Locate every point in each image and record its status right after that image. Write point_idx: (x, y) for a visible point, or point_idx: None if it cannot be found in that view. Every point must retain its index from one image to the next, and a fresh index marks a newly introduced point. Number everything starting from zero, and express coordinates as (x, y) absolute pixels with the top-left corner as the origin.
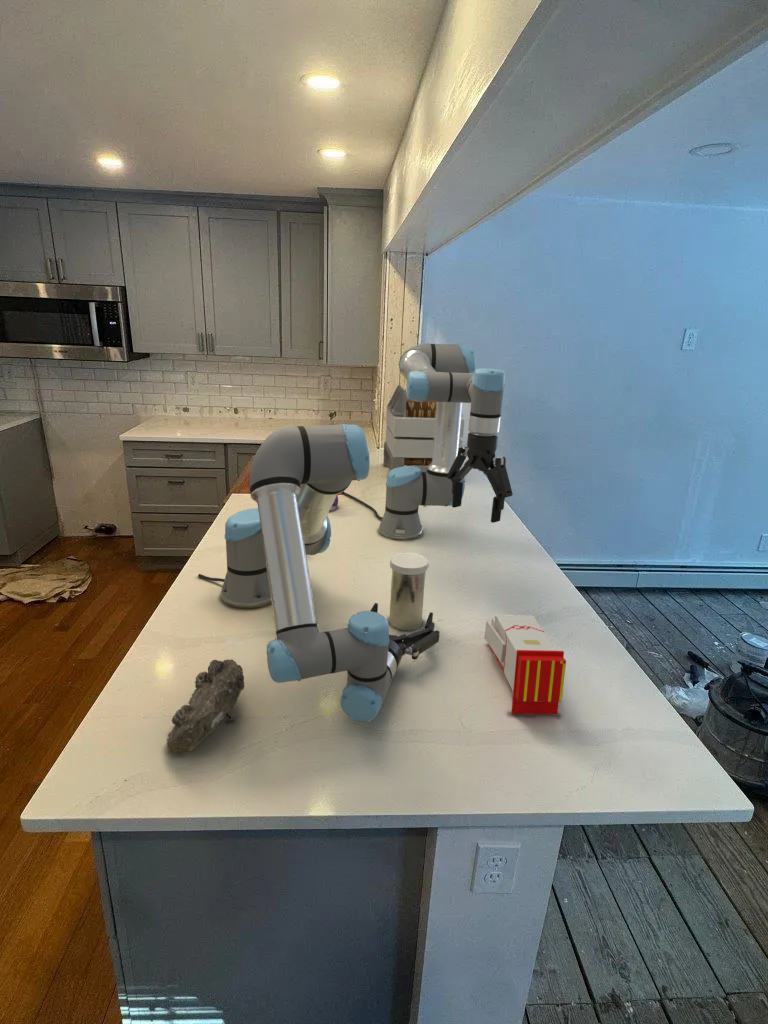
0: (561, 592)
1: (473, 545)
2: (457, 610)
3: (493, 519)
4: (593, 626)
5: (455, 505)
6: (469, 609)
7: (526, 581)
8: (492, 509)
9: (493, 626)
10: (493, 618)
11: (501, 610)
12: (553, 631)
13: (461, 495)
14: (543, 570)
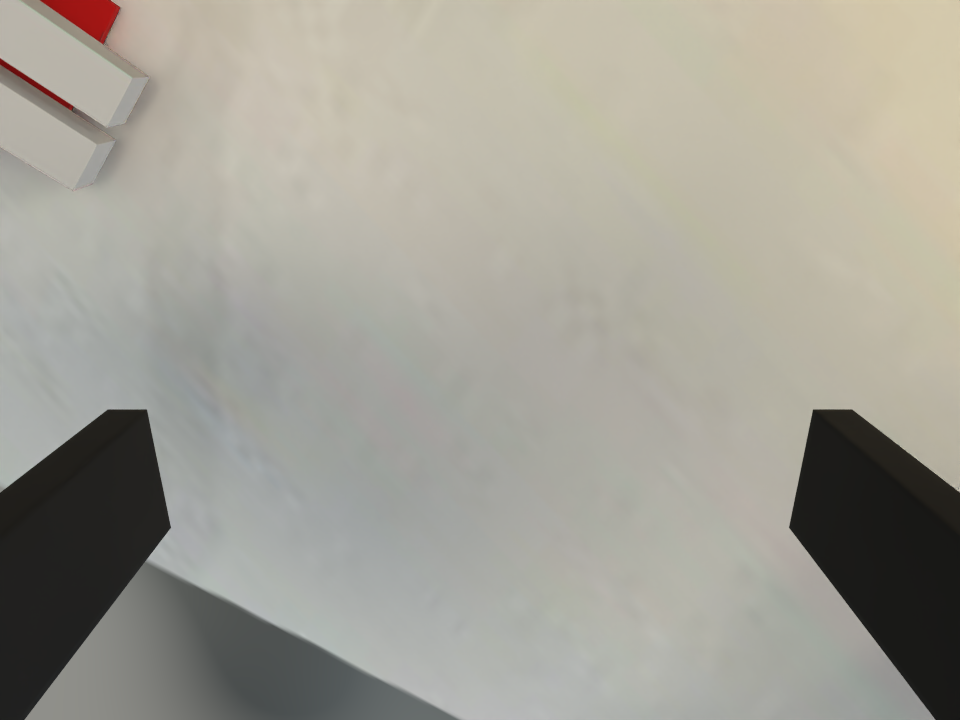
0: (310, 611)
1: (827, 658)
2: (437, 134)
3: (84, 434)
4: None
5: (821, 446)
6: (412, 192)
7: (452, 580)
8: (25, 510)
9: (99, 46)
10: (116, 72)
11: (327, 308)
12: (95, 350)
13: (875, 629)
14: (477, 695)
